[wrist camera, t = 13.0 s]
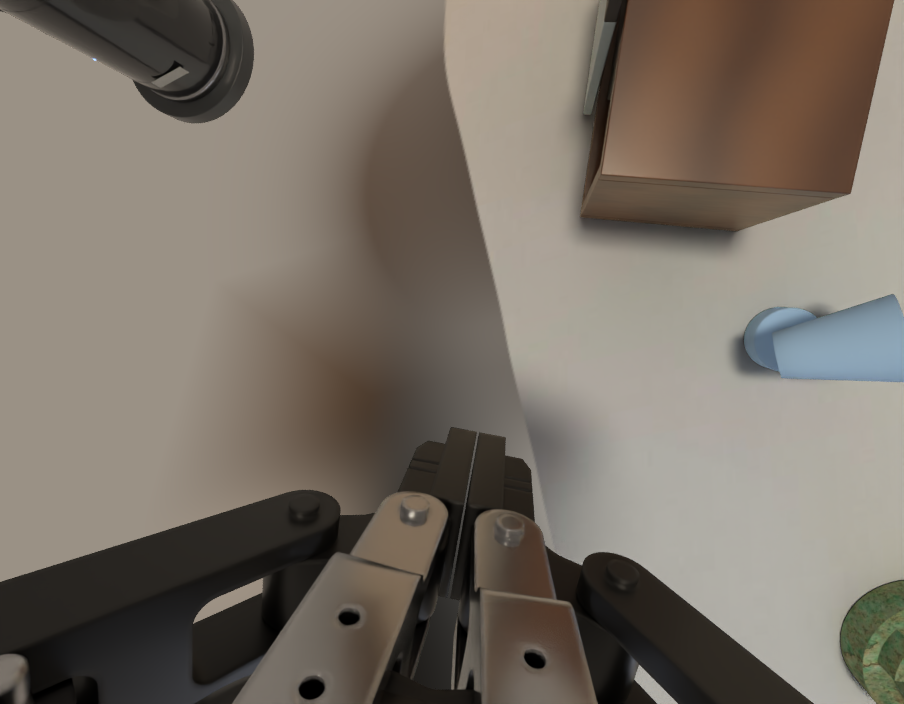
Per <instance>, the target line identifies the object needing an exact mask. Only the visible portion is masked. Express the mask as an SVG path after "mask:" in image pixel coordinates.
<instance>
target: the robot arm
mask: <svg viewBox="0 0 904 704" xmlns="http://www.w3.org/2000/svg"><path fill="white" fill-rule="evenodd" d="M0 11H2V12H5V13H8V14H10V15H12V16H14V17H15V18H17V19H19V20H21V21H23V22H25V23H27V24H29V25H31V26H32V27H34V28H36V29H38V30H40V31H42V32H43V33H45V34H47V35H49V36H51V37H53V38H55V39H57V40H59V41H61V42H63V43H65V44H67V45H69V46H70V47H72V48H74V49H76V50H78V51H80V52H82V53H84V54H86V55H88V56H89V57H91V58H93V59H94V60H97V61H99V62H101V63H103V64H104V65H106V66H108V67H110V68H112V69H114V70H116V71H118V72H120V73H121V74H123V75H125V76H127V77H129V78H131V79H132V80H134V81H136V82H138V83H140V84H142V85H144V86H146V87H148V88H149V89H151V90H152V91H153V92H155V93H156V94H158V95H160V96H162V97H164V98H166V99H168V100H171V101H175V102H191V101H195V100H197V99H200V98H202V97H203V96H205V95H207V94H208V93H209V92H210V91H211V90H212V89H213V88H214V87H215V86H216V85H217V84H218V82H219V81H220V79H221V78H222V76H223V74H224V72H225V69H226V66H227V63H228V59H229V52H230V39H229V32H228V28H227V25H226V22H225V19H224V17H223V15H222V13H221V12H220V10H219V9H218V7H217V6H216V5H215V4H214V3H213V2H212V1H211V0H0ZM476 434H477V432H474V431H469V430H464V429H459V428H454V427H451V428H450V431H449V434H448V438H447V441H446V444H443V443H437V442H432V441H427V442H425V443H424V444H422V445H421V446H419V447H418V448H417V449H416V451H415V453H414V456H413V458H412V460H411V462H410V465H409V468H408V469H407V472H406V474H405V476H404V479H403V481H402V483H401V485H400V488H399V490H398V492H397V493H395V494H392V495H390V496H388V497H387V498H386V499H384V501H383V502H382V503H381V505H380V507H379V508H378V510H377V511H376V513H372V514H367V515H340V505H339V503H338V502H337V501H336V500H335V499H334V498H333V497H332V496H330V495H328V494H326V493H323V492H319V491H314V490H298V491H292V492H288V493H284V494H281V495H278V496H275V497H272V498H269V499H265V500H262V501H259V502H255V503H253V504H249V505H246V506H243V507H240V508H236V509H233V510H230V511H227V512H223V513H220V514H217V515H214V516H210V517H207V518H204V519H201V520H198V521H194V522H191V523H188V524H185V525H182V526H179V527H175V528H172V529H169V530H166V531H162V532H160V533H156V534H153V535H150V536H146V537H143V538H140V539H137V540H134V541H130V542H127V543H124V544H121V545H118V546H114V547H111V548H108V549H105V550H102V551H98V552H95V553H92V554H89V555H85V556H83V557H79V558H76V559H73V560H70V561H66V562H63V563H60V564H57V565H53V566H51V567H47V568H44V569H41V570H37V571H34V572H31V573H28V574H24V575H21V576H18V577H15V578H12V579H8V580H5V581H2V582H0V704H657V703H656V702H655V701H654V700H653V699H652V698H651V697H650V696H649V695H648V694H647V693H646V692H645V691H644V689H643V688H642V687H641V686H640V685H639V684H638V683H637V682H636V681H635V680H634V678H635V675H636V672H637V669H638V666H639V665H640V666H641V667H642V668H643V669H644V670H645V671H646V672H647V673H648V674H649V675H650V676H651V677H652V678H653V679H654V680H655V681H656V682H657V683H658V684H659V685H660V686H661V687H662V688H663V689H664V690H665V691H666V692H667V693H668V694H669V695H670V696H671V697H672V698H673V699H674V700H675V701H676V702H677V703H678V704H813V703H812V702H811V701H810V700H808V699H807V698H806V697H805V696H803V695H802V694H801V693H800V692H798V691H797V690H796V689H795V688H793V687H792V686H791V685H790V684H789V683H787V682H786V681H785V680H784V679H782V678H781V677H780V676H779V675H777V674H776V673H775V672H774V671H772V670H771V669H770V668H769V667H767V666H766V665H765V664H764V663H762V662H761V661H760V660H759V659H757V658H756V657H755V656H754V655H752V654H751V653H750V652H749V651H747V650H746V649H745V648H744V647H742V646H741V645H740V644H739V643H737V642H736V641H735V640H734V639H732V638H731V637H730V636H729V635H727V634H726V633H725V632H724V631H722V630H721V629H720V628H719V627H717V626H716V625H715V624H714V623H712V622H711V621H710V620H709V619H707V618H706V617H705V616H704V615H702V614H701V613H700V612H699V611H697V610H696V609H695V608H694V607H692V606H691V605H690V604H689V603H687V602H686V601H685V600H684V599H682V598H681V597H680V596H679V595H677V594H676V593H675V592H674V591H673V590H671V589H670V588H669V587H668V586H666V585H665V584H664V583H663V582H661V581H660V580H659V579H658V578H656V577H655V576H654V575H653V574H651V573H650V572H649V571H648V570H646V569H645V568H644V567H642V566H641V565H640V564H638V563H636V562H635V561H633V560H631V559H629V558H626V557H624V556H621V555H618V554H614V553H607V552H599V553H593V554H591V555H589V556H588V557H586V558H585V560H584V561H583V565H582V566H581V565H579V564H577V563H574V562H572V561H570V560H568V559H565V558H563V557H561V556H559V555H558V554H556V553H554V552H553V551H552V550H550V549H549V548H548V547H547V546H545V542H544V538H543V534H542V531H541V530H540V528H539V527H538V525H537V524H536V523H535V519H534V505H533V493H532V483H531V482H532V479H531V470H530V468H529V467H528V466H527V464H526V463H525V462H524V460H523V459H520V458H515V457H510V456H505V440H506V438H505V437H501V436H495V435H491V434H485V433H479V436H478V442H477V448H476V453H475V459H474V464H473V469H472V475H471V481H470V486H469V492H468V497H467V503H466V509H465V515H464V520H463V526H462V532H461V539H460V544H459V550H458V556H457V562H456V568H455V574H454V579H453V586H452V591H451V597H450V598H451V599H456V600H460V603H459V609H458V615H457V621H456V626H455V631H454V644H453V665H452V682H451V690H434V689H430V688H427V687H425V686H423V685H421V684H419V683H417V682H415V681H413V677H414V674H415V671H416V667H417V665H418V661H419V658H420V655H421V652H422V648H423V645H424V642H425V638H426V635H427V632H428V629H429V624H430V618H431V615H432V614H433V612H434V610H435V607H436V603H437V598H438V596H441V597H446V598H447V596H448V590H449V585H450V579H451V574H452V568H453V562H454V557H455V552H456V545H457V540H458V535H459V529H460V524H461V518H462V513H463V507H464V501H465V496H466V490H467V485H468V479H469V473H470V468H471V462H472V456H473V450H474V445H475V439H476ZM261 578H263V592H262V593H261V594H258V595H256V596H254V597H252V598H249V599H247V600H245V601H243V602H241V603H238V604H236V605H234V606H232V607H230V608H227V609H225V610H223V611H221V612H219V613H216V614H214V615H212V616H210V617H207V618H205V619H203V620H201V621H198V622H196V623H194V624H193V622H194V619H195V617H196V615H197V614H198V612H199V611H200V610H201V609H202V608H203V607H204V606H205V605H206V604H207V603H208V602H210V601H211V600H213V599H215V598H217V597H219V596H221V595H224V594H226V593H228V592H231V591H233V590H235V589H238V588H240V587H242V586H245V585H247V584H249V583H252V582H254V581H256V580H259V579H261Z"/></svg>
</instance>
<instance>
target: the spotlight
mask: <svg viewBox="0 0 904 704" xmlns="http://www.w3.org/2000/svg"><path fill="white" fill-rule="evenodd" d="M744 345H745V349H746V351H747V353H748V355H749V356H750V358H751V359H752V360H753V361H754V362H756V363H757V364H759V365H761V366H763V367H766V368H769V369H772V370H775V371H779V372H780V375H781V378H793V379H823V380H853V381H884V382H904V317H903V313H902V311H901V308H900V305H899V303H898V300H897V298H896V297H895V295H894V294H891V295H888V296H885V297H882V298H879V299H876V300H872V301H869V302H866V303H863V304H860V305H857V306H854V307H851V308H847V309H844V310H841V311H838V312H835V313H832V314H829V315H826V316H823V317H819V318H817V317H816V316H815V315H813V314H812V313H810V312H808V311H806V310H803V309H799V308H788V307H775V308H770V309H767V310H765V311H762V312H761V313H759V314H758V315H756V316H755V317H754V318H753V319H752V320H751V321H750V323H749V324H748V326H747V328H746V331H745V334H744Z"/></svg>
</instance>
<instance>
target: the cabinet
mask: <svg viewBox="0 0 904 704" xmlns="http://www.w3.org/2000/svg"><path fill="white" fill-rule="evenodd" d="M893 3H894V0H622V4H621V8H620V11H619V15H618V19H617V22H616V26H615V29H614V33H613V37H612V40H611V44H610V48H609V51H608V55H607V59H606V62H605V66H604V70H603V73H602V77H601V81H600V87H599V94H598V100H597V107H596V113H595V120H594V127H593V133H592V140H591V147H590V153H589V160H588V167H587V173H586V180H585V186H584V193H583V200H582V206H581V213H580V217H584V218H595V219H606V220H617V221H628V222H639V223H650V224H661V225H672V226H683V227H694V228H705V229H716V230H727V231H739V230H742V229H745V228H748V227H751V226H754V225H757V224H760V223H763V222H766V221H769V220H772V219H775V218H778V217H781V216H784V215H787V214H790V213H793V212H796V211H799V210H802V209H805V208H808V207H811V206H814V205H817V204H820V203H823V202H826V201H829V200H832V199H835V198H839V197H842V196H845V195H848V194H850V193H851V190H852V185H853V181H854V176H855V172H856V168H857V163H858V159H859V154H860V150H861V145H862V141H863V137H864V132H865V128H866V123H867V119H868V114H869V110H870V105H871V101H872V97H873V92H874V88H875V83H876V79H877V74H878V70H879V66H880V61H881V57H882V52H883V48H884V43H885V39H886V34H887V30H888V26H889V21H890V17H891V12H892V8H893Z"/></svg>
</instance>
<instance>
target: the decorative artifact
mask: <svg viewBox="0 0 904 704" xmlns="http://www.w3.org/2000/svg"><path fill="white" fill-rule="evenodd" d="M841 650H842V654H843V657H844V660H845V662H846V665H847V666H848V668H849V670H850V671H851V673H852V674H853V675H854V677H855V678H856V679H857V680H858V682H859V683H860V684H861V685H862V686H863V688H864V689H865V690H866V691H867V693H868V694H869V695H870V696H871V697H872V699H873V700H874V701H875V702H876V704H904V580H903V581H897V582H893V583H889V584H886V585H883V586H881V587H879V588H876V589H874V590H873V591H871V592H869V593H868V594H866V595H865V596H863V597H862V598H861V599H860V600H859V601H858V602H857V603H856V604H855V605H854V606H853V607H852V609H851V610H850V611H849V613H848V615H847V616H846V619H845V621H844V623H843V627H842V631H841Z"/></svg>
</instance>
